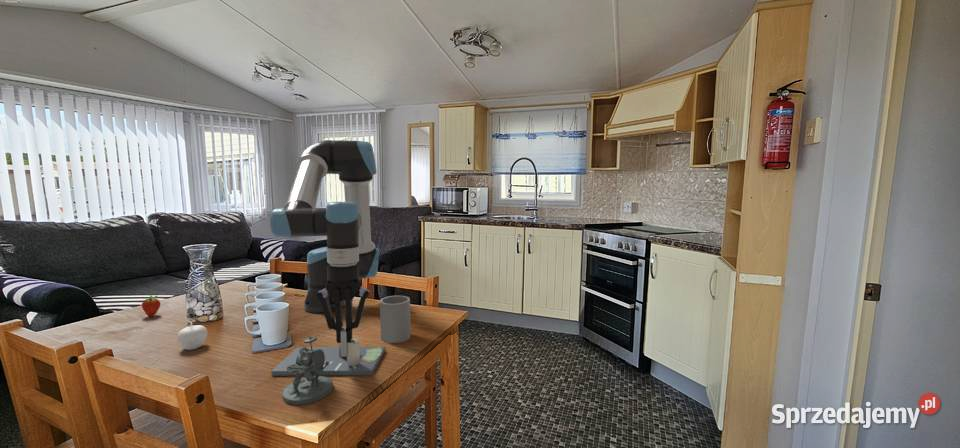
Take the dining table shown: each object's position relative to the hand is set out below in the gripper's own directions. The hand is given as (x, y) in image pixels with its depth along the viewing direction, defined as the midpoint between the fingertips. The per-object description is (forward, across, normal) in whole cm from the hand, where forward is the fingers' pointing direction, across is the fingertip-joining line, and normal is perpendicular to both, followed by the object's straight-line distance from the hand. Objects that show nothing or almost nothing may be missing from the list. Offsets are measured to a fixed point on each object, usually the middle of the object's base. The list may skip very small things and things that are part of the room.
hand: (344, 354), depth 97 cm
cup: (+4, +12, +20) cm, 24 cm away
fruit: (+6, -77, +54) cm, 94 cm away
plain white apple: (+6, -46, +22) cm, 52 cm away
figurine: (+5, -6, -9) cm, 12 cm away
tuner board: (+4, -4, +5) cm, 8 cm away
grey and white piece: (+3, +1, +4) cm, 5 cm away
